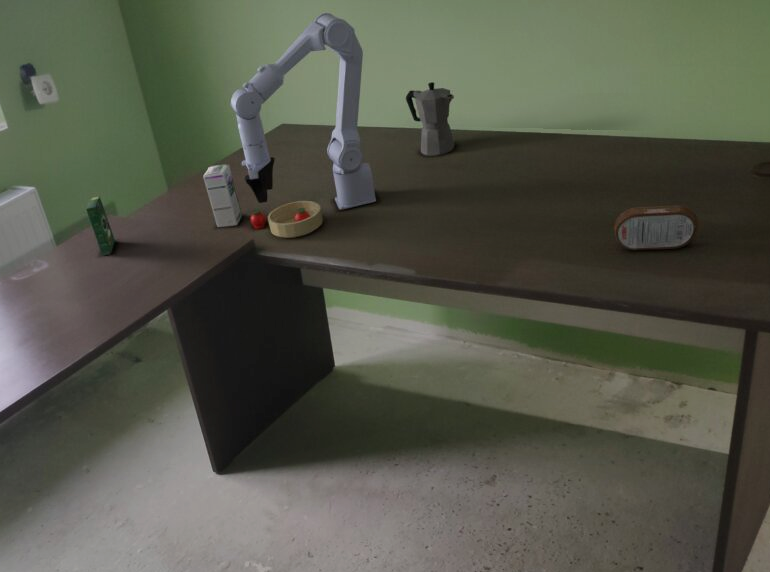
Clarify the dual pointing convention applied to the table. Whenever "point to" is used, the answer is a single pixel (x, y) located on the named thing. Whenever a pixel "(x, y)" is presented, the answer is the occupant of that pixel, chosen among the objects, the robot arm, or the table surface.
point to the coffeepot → (433, 119)
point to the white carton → (222, 195)
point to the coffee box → (100, 225)
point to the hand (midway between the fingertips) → (265, 195)
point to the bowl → (285, 221)
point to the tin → (656, 227)
